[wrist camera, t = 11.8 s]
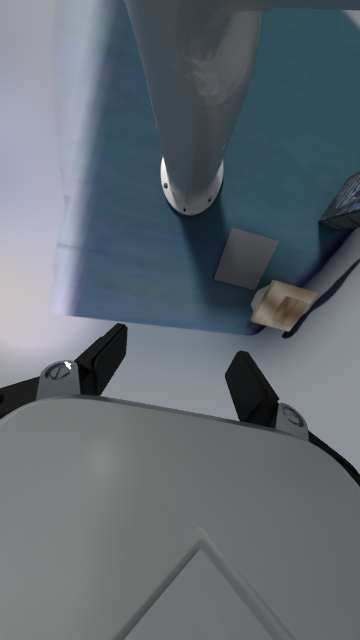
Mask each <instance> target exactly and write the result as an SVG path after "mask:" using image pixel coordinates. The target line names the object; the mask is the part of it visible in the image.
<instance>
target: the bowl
mask: <svg viewBox="0 0 360 640" xmlns="http://www.w3.org/2000/svg"><path fill="white" fill-rule="evenodd" d="M268 287H269V285H268V286H266V287H264V288H262V289H260V290H258V291H257V292H256V294H255V296H254V298H253V300H252V302H251V304H250V305H251V307H252V310H253V312H255V310H256V308H257V306H258V305H259V303H260V301H261V299H262V298H263V296H264V294H265V292H266V291H267V289H268Z"/></svg>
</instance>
